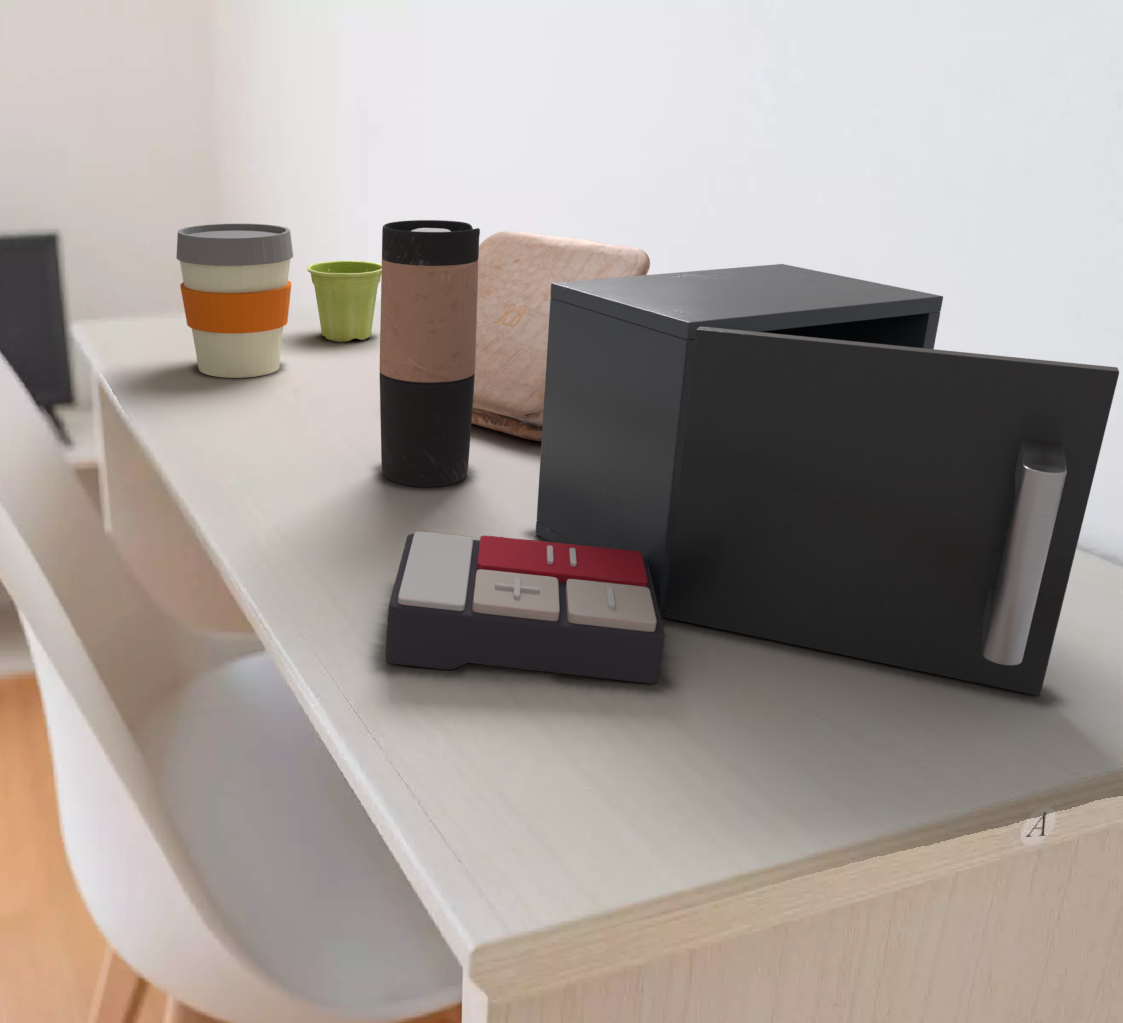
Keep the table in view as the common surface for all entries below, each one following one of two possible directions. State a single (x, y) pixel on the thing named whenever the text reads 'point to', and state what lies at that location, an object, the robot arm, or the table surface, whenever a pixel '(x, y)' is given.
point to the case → (528, 318)
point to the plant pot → (346, 297)
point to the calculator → (524, 607)
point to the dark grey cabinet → (672, 384)
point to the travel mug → (427, 350)
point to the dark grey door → (885, 499)
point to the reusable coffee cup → (236, 295)
